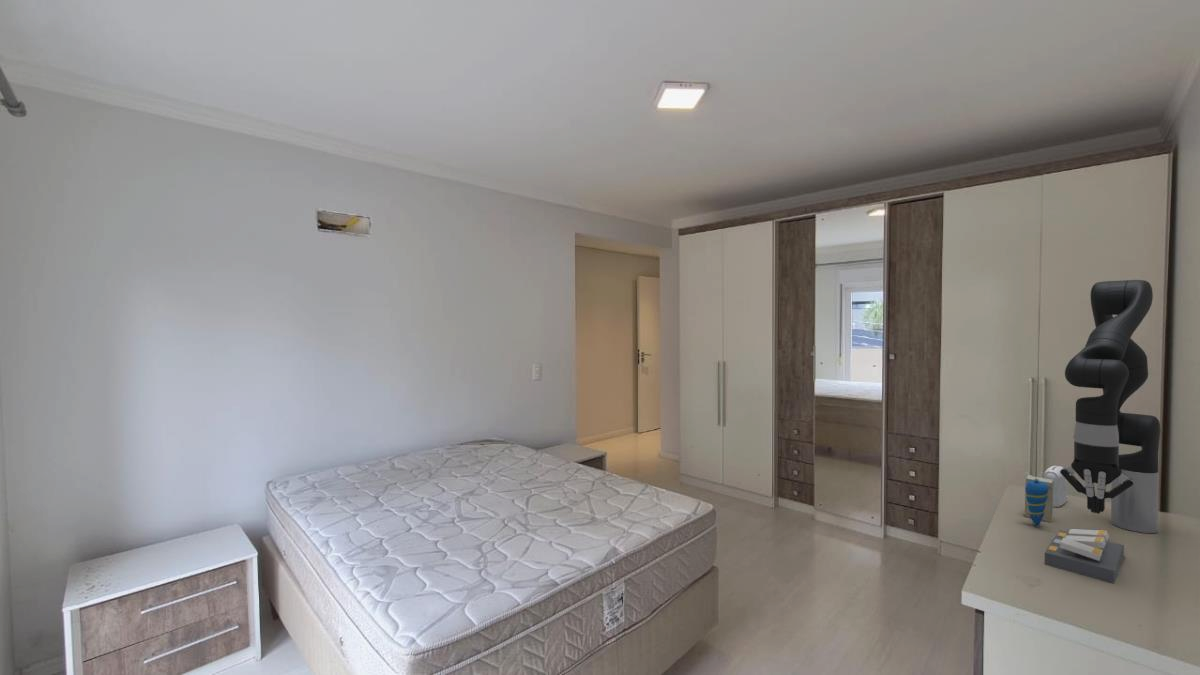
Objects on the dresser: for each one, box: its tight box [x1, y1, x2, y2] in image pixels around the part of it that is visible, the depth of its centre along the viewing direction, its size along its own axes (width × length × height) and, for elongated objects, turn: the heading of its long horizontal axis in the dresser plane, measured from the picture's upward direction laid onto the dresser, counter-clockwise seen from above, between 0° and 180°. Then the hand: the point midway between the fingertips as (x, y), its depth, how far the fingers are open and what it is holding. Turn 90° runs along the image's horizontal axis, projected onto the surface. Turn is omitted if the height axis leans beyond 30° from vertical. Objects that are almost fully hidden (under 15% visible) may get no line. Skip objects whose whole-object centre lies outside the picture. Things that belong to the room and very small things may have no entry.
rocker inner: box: [1068, 528, 1110, 541], centre depth 126 cm, size 4×7×2 cm, turn 38°
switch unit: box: [1044, 529, 1125, 584], centre depth 123 cm, size 20×12×4 cm, turn 128°
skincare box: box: [1024, 475, 1054, 523], centre depth 149 cm, size 6×4×12 cm
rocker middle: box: [1065, 535, 1106, 548], centre depth 122 cm, size 4×7×2 cm, turn 38°
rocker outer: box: [1060, 537, 1103, 561], centre depth 119 cm, size 4×7×2 cm, turn 38°
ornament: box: [1024, 476, 1049, 528], centre depth 142 cm, size 5×5×15 cm
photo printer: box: [1043, 465, 1068, 508], centre depth 160 cm, size 10×4×12 cm, turn 123°
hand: (1095, 512), depth 117 cm, fingers closed
